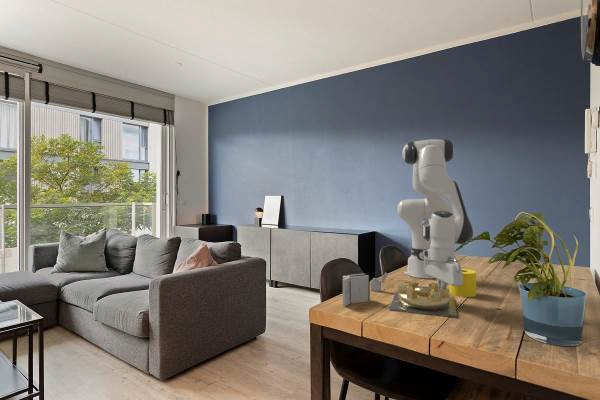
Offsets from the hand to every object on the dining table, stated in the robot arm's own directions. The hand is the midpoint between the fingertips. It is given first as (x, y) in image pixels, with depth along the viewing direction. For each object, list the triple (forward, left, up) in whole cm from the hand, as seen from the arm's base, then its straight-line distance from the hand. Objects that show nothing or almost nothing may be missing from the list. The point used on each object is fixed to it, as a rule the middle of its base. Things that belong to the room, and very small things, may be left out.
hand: (442, 291), depth 130 cm
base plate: (+3, -7, -5) cm, 9 cm away
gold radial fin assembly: (+3, -7, -4) cm, 8 cm away
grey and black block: (+9, -31, -5) cm, 33 cm away
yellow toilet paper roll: (-18, +8, -5) cm, 21 cm away
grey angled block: (-10, -25, -5) cm, 27 cm away
